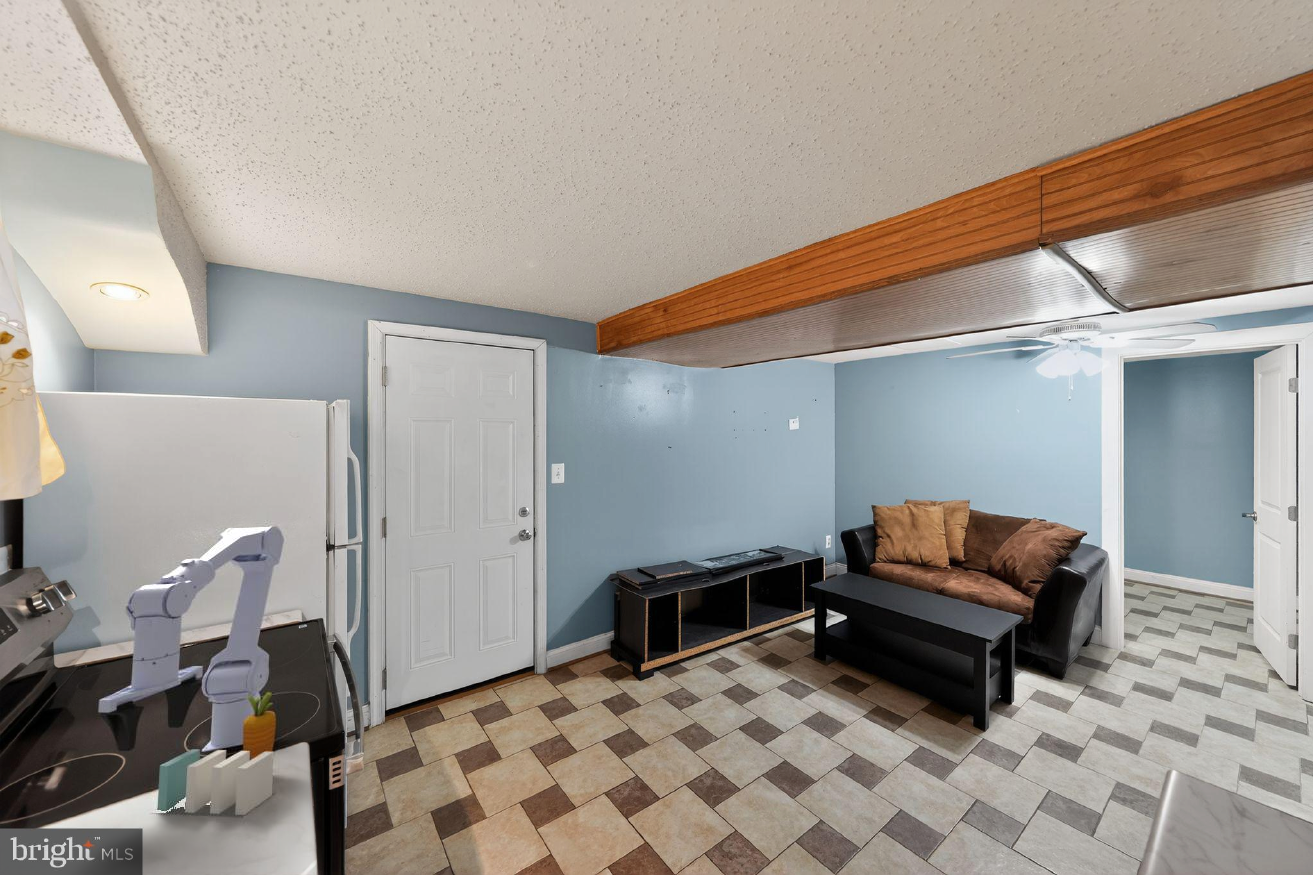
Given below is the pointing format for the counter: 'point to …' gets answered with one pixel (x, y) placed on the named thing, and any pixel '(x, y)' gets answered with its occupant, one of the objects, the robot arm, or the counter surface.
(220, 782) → the domino
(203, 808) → the mat
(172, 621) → the robot arm
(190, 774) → the domino
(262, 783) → the domino
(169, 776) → the tile
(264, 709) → the carrot
